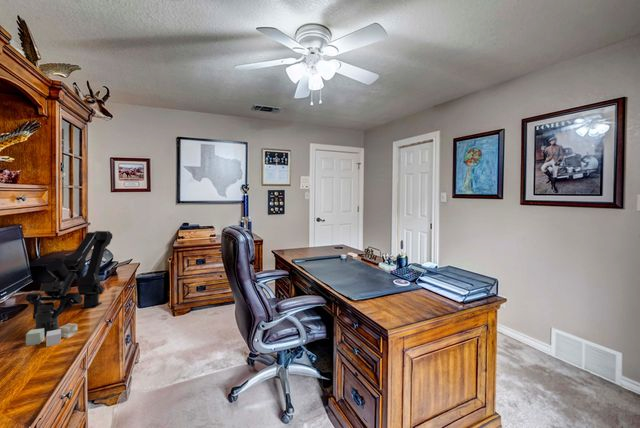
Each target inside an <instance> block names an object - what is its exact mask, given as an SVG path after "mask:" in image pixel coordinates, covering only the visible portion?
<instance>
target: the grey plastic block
mask: <svg viewBox="0 0 640 428" xmlns="http://www.w3.org/2000/svg"><path fill="white" fill-rule="evenodd" d="M45 339H46V341H45V342H46V348H47V347H50V346H51V347H53V346H55V345H60V344H61V343H62V337H61V329H59V328H58V330H53V331H47V335H46V336H45Z"/></svg>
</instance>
